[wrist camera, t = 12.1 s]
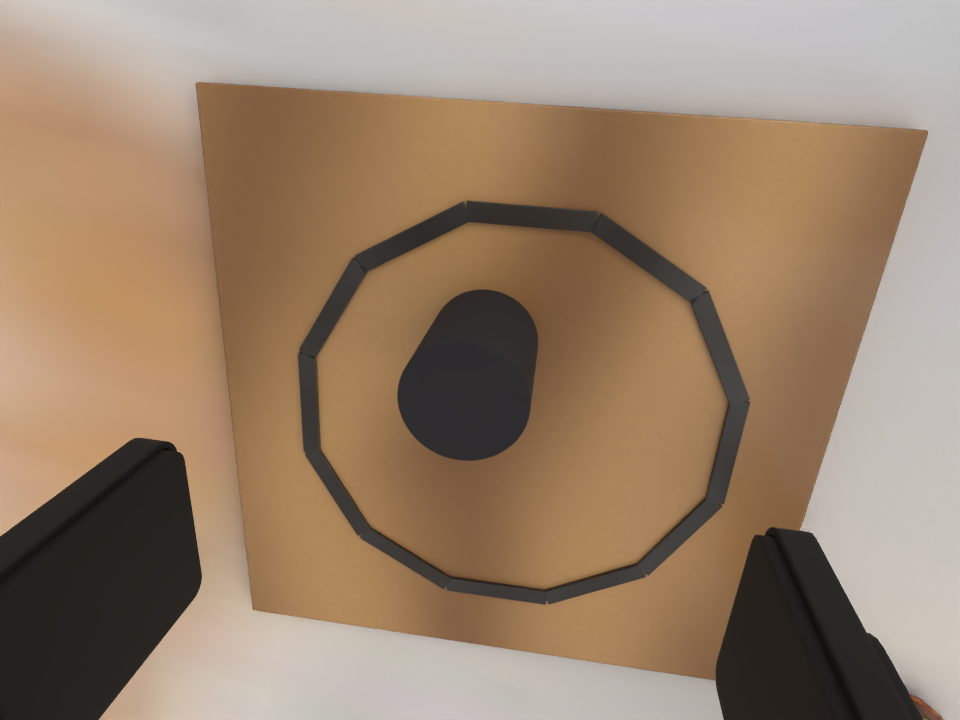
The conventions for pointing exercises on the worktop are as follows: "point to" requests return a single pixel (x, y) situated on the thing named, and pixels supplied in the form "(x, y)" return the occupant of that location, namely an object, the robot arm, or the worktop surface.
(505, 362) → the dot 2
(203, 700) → the worktop surface
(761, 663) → the robot arm
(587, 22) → the worktop surface
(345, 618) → the board
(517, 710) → the worktop surface
